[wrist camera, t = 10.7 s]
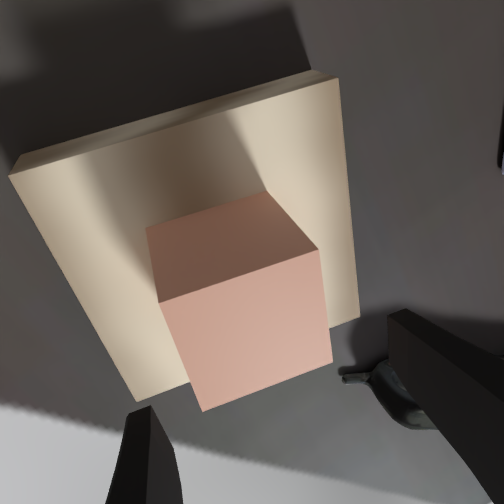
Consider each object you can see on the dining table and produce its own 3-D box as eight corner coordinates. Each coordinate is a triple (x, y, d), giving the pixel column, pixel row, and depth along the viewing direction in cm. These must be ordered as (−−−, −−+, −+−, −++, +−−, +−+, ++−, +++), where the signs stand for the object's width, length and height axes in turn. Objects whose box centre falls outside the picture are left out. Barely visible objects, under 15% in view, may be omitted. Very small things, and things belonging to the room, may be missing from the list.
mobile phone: (570, 396, 29) (397, 412, 23) (546, 427, 30) (376, 450, 24) (510, 347, 33) (351, 350, 27) (491, 376, 34) (335, 385, 28)
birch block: (306, 68, 18) (338, 77, 16) (334, 285, 24) (360, 316, 22) (23, 150, 16) (8, 175, 14) (133, 359, 23) (136, 402, 20)
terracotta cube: (266, 190, 17) (319, 249, 13) (285, 287, 20) (332, 361, 15) (145, 228, 16) (158, 303, 12) (181, 323, 19) (202, 411, 15)
